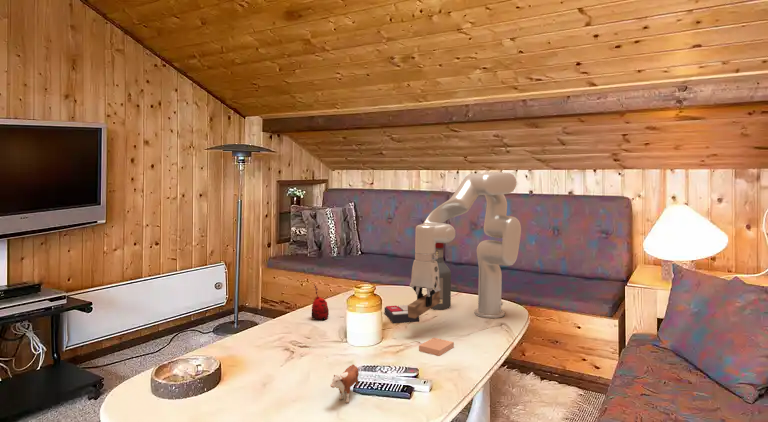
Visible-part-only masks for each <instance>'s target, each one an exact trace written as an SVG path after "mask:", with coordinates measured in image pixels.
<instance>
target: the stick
mask: <svg viewBox="0 0 768 422" xmlns="http://www.w3.org/2000/svg"><path fill="white" fill-rule="evenodd" d="M426 296H427V293H425V294H423V297H421V298H419V299H418V300H417V299H416V300H415V301H413V302H411V303H410V304H407V305H408V317H410V318H417V317H418V316H419V317H420V316H422V315H423V314H424V313H427V312H428V311H429V310H431V308H432V307H434V306H435V305H437V304H438V303H440V292H439V291H438V292H436V293H435V294H434V295H433V296H432V305H431V306H429V307H426Z"/></svg>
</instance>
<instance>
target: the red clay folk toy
mask: <svg viewBox="0 0 768 422" xmlns="http://www.w3.org/2000/svg"><path fill="white" fill-rule="evenodd" d="M313 288H315V294H316V296H315V299H314V300H313V302H312V306H311V317H312V319H313V320H315V321H323V320H325V321H326V320H328V318H329V315H330V314H329V313H330V312H329V307H328V302H327V301H326V299H325V298H323V297H320V296H318V295H319V294H318V290H319V289H318V287H317V284H316V285H315V284H313Z"/></svg>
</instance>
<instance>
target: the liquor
mask: <svg viewBox="0 0 768 422" xmlns="http://www.w3.org/2000/svg"><path fill="white" fill-rule="evenodd" d="M444 244H445V243H436V244H435V253H436V256H438V259H436V260H435V261H437V263H438V269H439V286H440V289H441V290H440V291H439V292H440V303H438V304H437V305H435V306H434V307H432V308H431V309H432V310H436V311H444V310H448V309H450V308H451V305H452V304H451V303H452V301H451V297H452V295H451V292H452V291H451V290H452V289H451V288H452V285H451V284H452V271H451V269H450V268H449V267H448V265H447V264H446V263H445V260H444V248H445V247H444ZM434 289H435V287H434V288H433V290H434ZM431 309H430V310H431Z"/></svg>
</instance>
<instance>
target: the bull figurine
mask: <svg viewBox="0 0 768 422" xmlns="http://www.w3.org/2000/svg"><path fill="white" fill-rule="evenodd" d="M359 375H360V373H359V368H358V367H357V365H355V364H351V365H349V366H348V367H347V368H346V369H345V370H344V371H343V372H342V373H341V374H333V378H332V382H331V383H330V388H332V389H334V388H336V389H338V391H339V394H340V395H339V401H342V400H343V399H344V393H345V396H346V398H345V401H344V403H345V404H349V403H350V398H349V397H350V392H351V388H352V387H353V386H354V385H355V386H356V385H357V384H358V385H359V379H358V378H359Z"/></svg>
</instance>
